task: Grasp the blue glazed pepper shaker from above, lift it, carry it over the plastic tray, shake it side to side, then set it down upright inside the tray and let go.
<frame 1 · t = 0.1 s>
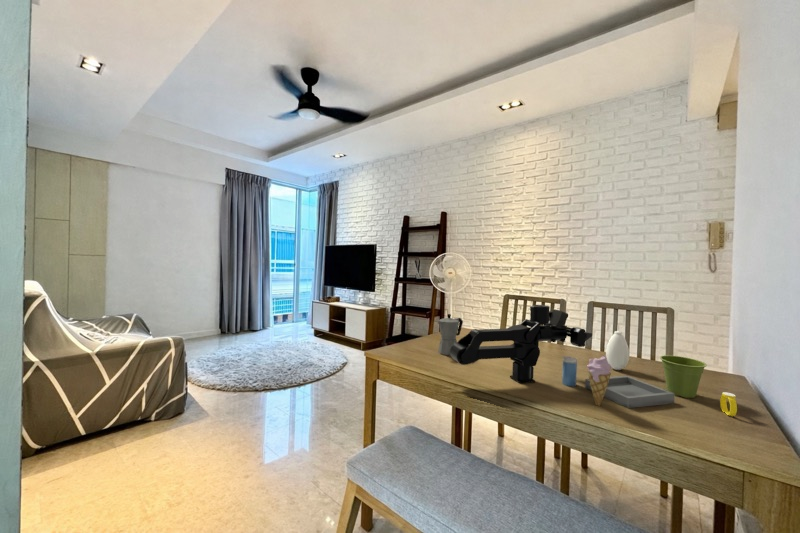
hand: (581, 332, 126), 17 cm above the table, tool horizontal, fingers open, 9 cm apart
coffeepot: (449, 352, 153), on the table
watch: (727, 414, 96), on the table
tray: (627, 395, 108), on the table
plant pot: (681, 394, 110), on the table
white vase: (616, 369, 134), on the table
ice cream cone: (597, 405, 100), on the table
shaker: (569, 384, 116), on the table
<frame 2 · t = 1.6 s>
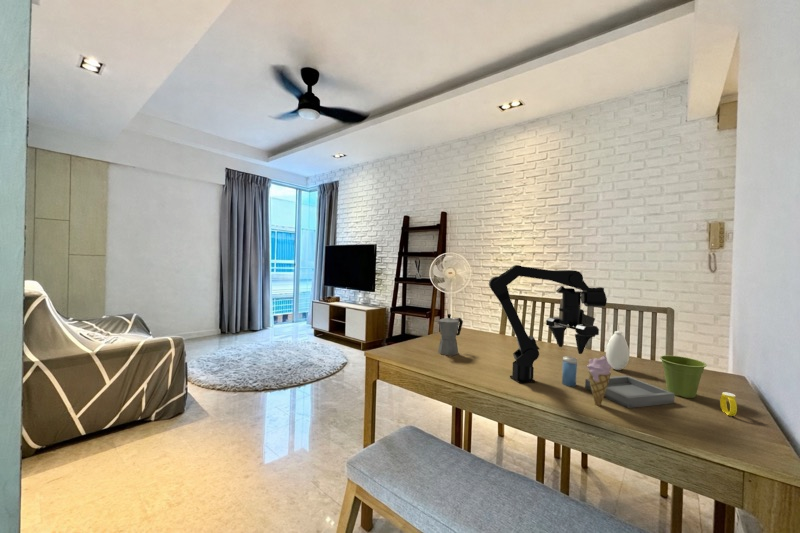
hand: (570, 350, 116), 12 cm above the table, tool pointing down, fingers open, 9 cm apart
nothing on the table moved.
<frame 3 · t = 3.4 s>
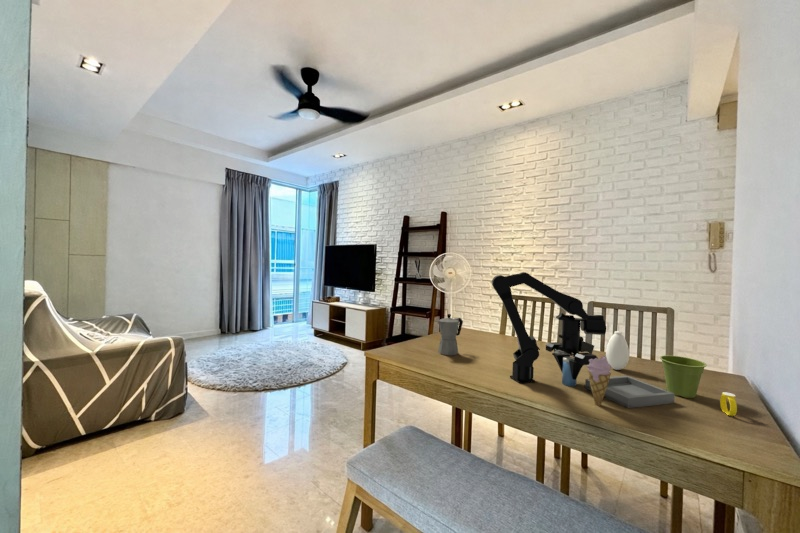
hand: (569, 377, 116), 3 cm above the table, tool pointing down, fingers closed on shaker, 4 cm apart
shaker: (569, 384, 116), on the table, touching gripper
everything else where it was.
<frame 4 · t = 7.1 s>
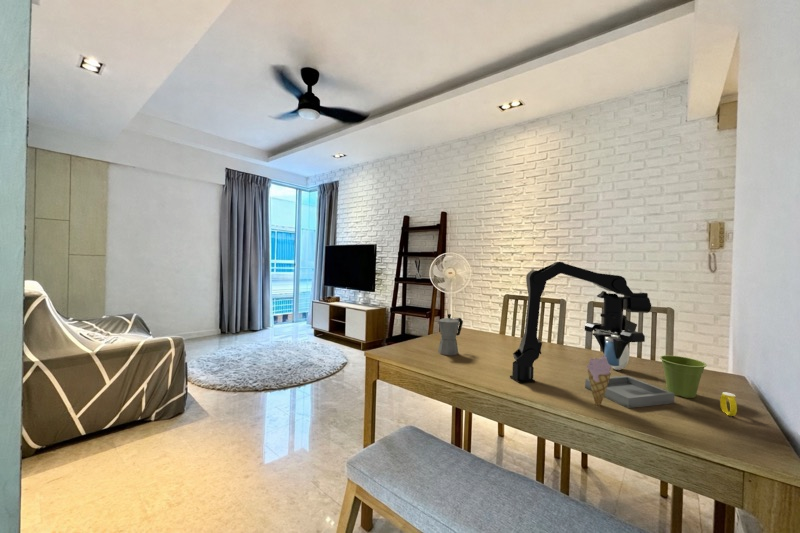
hand: (611, 356, 114), 11 cm above the table, tool pointing down, fingers closed on shaker, 4 cm apart
shaker: (611, 363, 114), point 8 cm above the table, touching gripper
everything else where it was.
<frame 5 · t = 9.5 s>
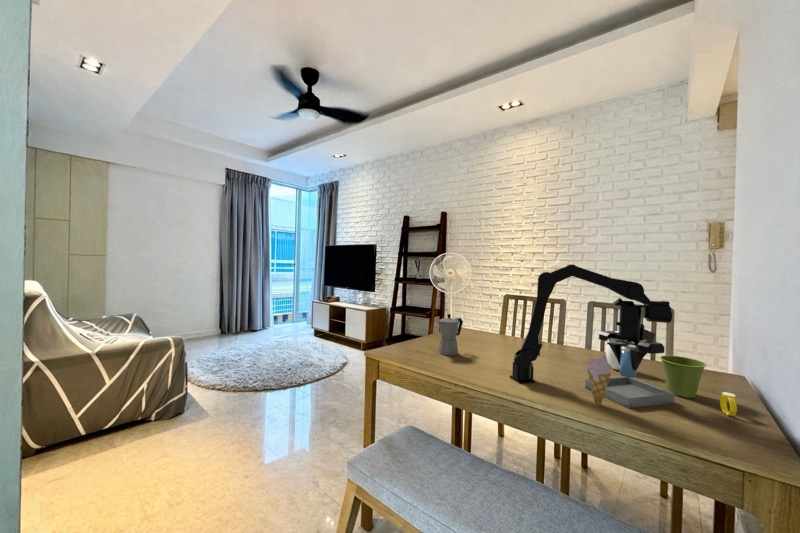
hand: (628, 367, 108), 9 cm above the table, tool pointing down, fingers closed on shaker, 4 cm apart
shaker: (627, 375, 108), point 6 cm above the table, touching gripper
everything else where it was.
when the fingers open (4 cm above the table, at t = 11.2 s): shaker stays where it is, resting on tray.
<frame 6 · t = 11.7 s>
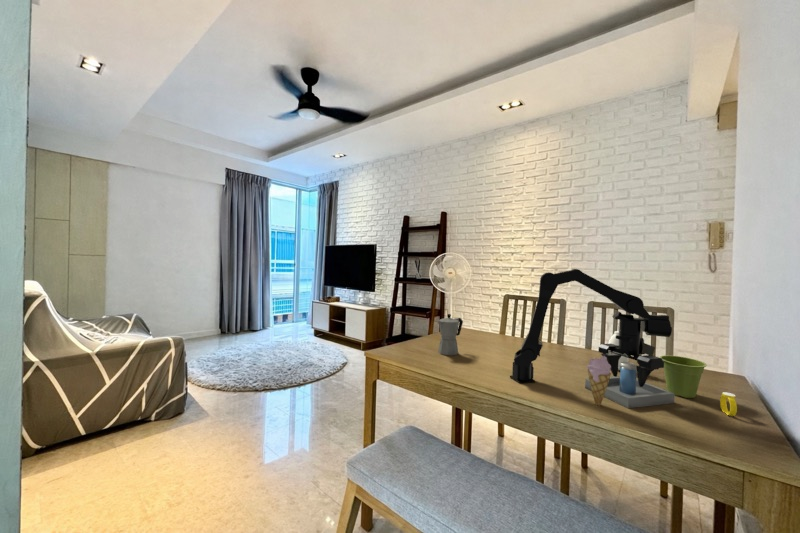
hand: (627, 381, 108), 4 cm above the table, tool pointing down, fingers open, 9 cm apart
shaker: (627, 391, 108), point 1 cm above the table, touching tray
everything else where it was.
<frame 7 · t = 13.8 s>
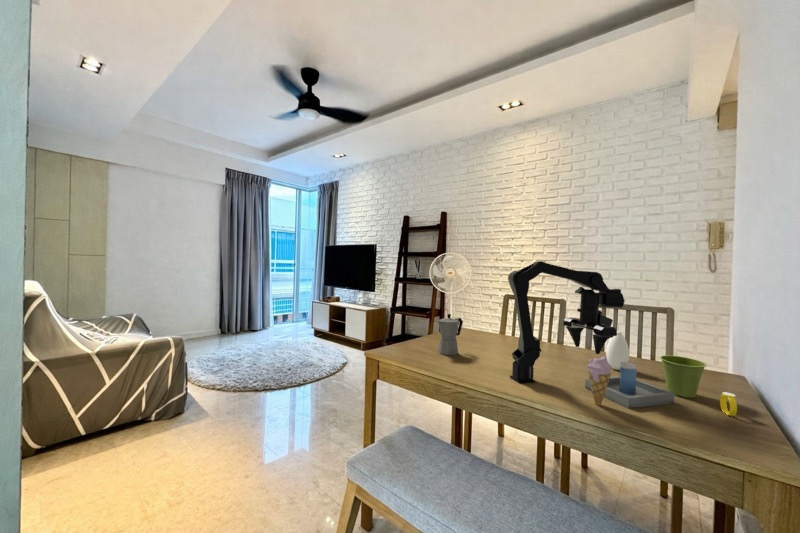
hand: (587, 350, 118), 12 cm above the table, tool pointing down, fingers open, 9 cm apart
nothing on the table moved.
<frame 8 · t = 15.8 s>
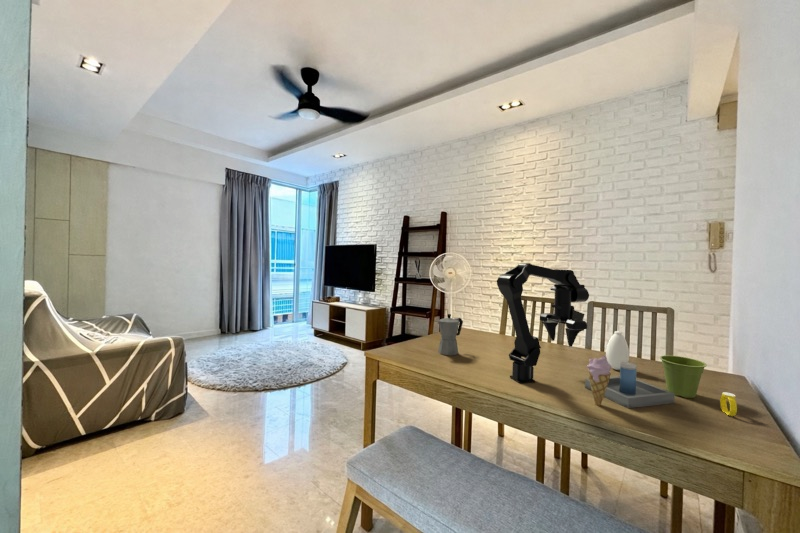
hand: (561, 343, 126), 12 cm above the table, tool pointing down, fingers open, 9 cm apart
nothing on the table moved.
at the end: shaker inside the target area on the tray (0.0 cm from its centre), point 1.0 cm above the tray's base; shaker tilted 0°; the gripper is holding nothing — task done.
